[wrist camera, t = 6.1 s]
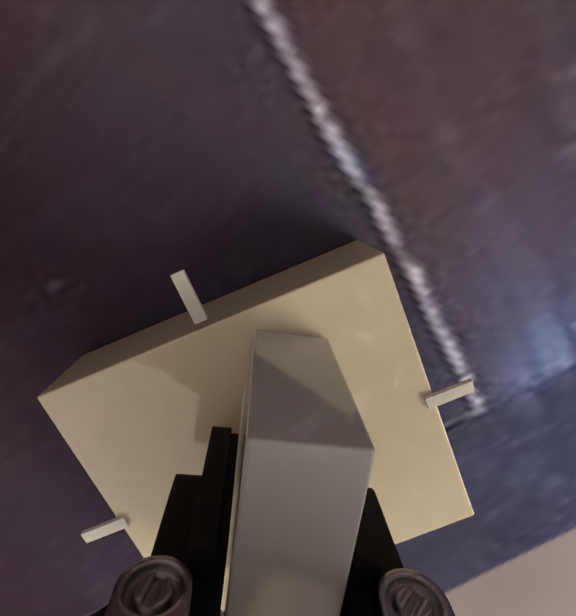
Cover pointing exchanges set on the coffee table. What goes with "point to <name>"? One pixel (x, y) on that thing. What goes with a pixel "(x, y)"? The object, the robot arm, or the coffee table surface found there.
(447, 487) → the base
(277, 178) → the coffee table surface
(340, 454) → the grey rectangular block
